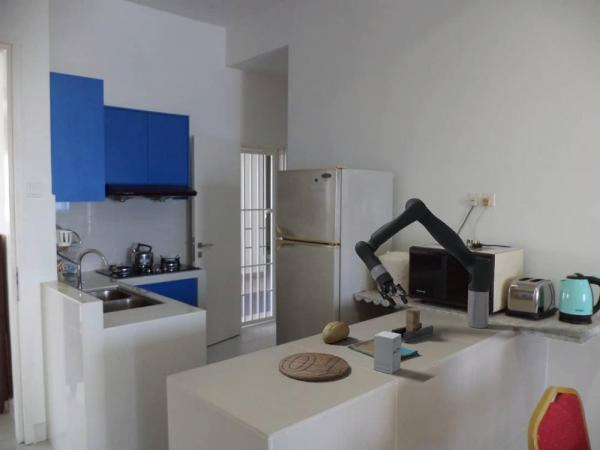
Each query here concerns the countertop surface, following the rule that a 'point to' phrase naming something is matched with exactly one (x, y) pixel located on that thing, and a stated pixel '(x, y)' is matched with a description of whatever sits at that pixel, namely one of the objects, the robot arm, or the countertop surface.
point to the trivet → (313, 367)
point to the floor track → (414, 333)
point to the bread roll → (335, 332)
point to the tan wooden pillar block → (412, 319)
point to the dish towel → (368, 349)
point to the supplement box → (387, 352)
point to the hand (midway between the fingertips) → (400, 304)
